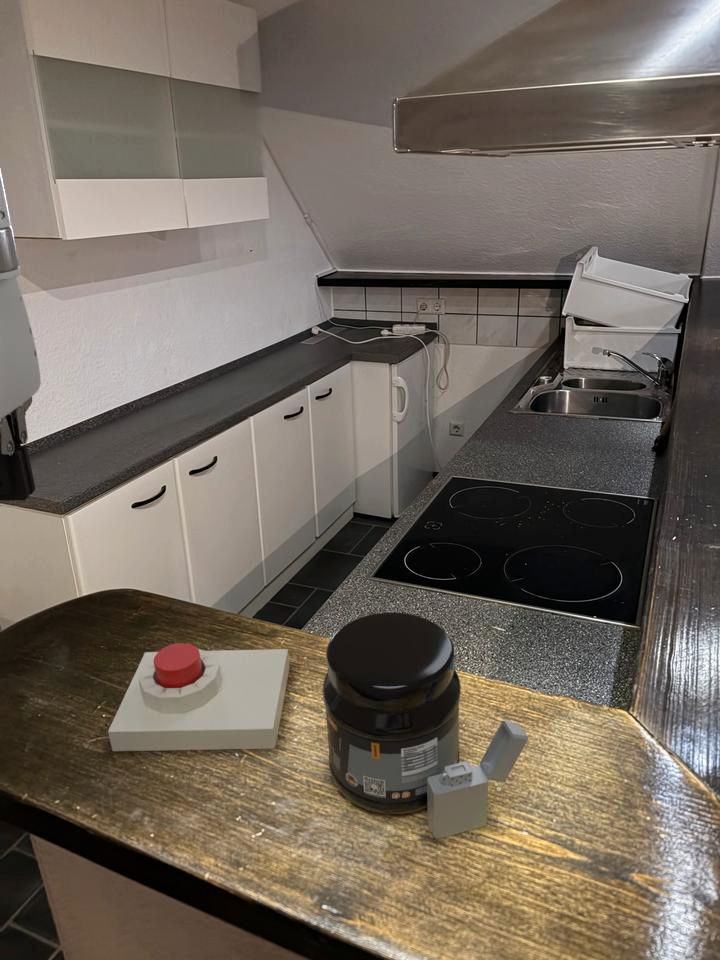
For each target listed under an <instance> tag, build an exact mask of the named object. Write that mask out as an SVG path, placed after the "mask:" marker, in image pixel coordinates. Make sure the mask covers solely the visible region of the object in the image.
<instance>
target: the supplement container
mask: <svg viewBox="0 0 720 960" xmlns="http://www.w3.org/2000/svg"><path fill="white" fill-rule="evenodd" d="M326 668H327V672H326V674H325V677H324V679H323V684H322V700H323V704H324V707H325V719H326V729H327V743H328V767H329V772H330V776H331V778H332V781H333V782H334V784H335V786H336V788H337V789H338V790H339V791H340V793H341V794H342V795H343V796H344V797H345V798H346V799H347V800H349V801H350V802H352V803H353V804H355V805H357V806H358V807H361V808H363V809H365V810H368V811H370V812H373V813H377V814H378V813H379V814H385V815H403V814H409V813H414V812H418V811H421V810H424V809H427V779H428V777H431V776H435V775H439V774H442V772H443V771H444V770H445V766H449V765H453V764H457V763H460V750H459V745H460V743H459V742H460V741H459V739H460V736H459V734H460V732H459V731H460V729H459V728H460V727H459V726H460V723H459V722H460V701H461V696H462V686H461V680H460V676H459V674H458V673H457V671H456V669H455V648H454V644H453V640H452V639H451V636H450V635H449V634H448V633H447V632H446V630H444V628H442V627H441V626H440V625H438V624H436V623H435V622H433V621H432V620H430V619H427V618H424V617H422V616H419V615H417V614H416V615H415V614H411V613H404V612H377V613H372V614H368V615H364V616H361V617H359V618H356V619H353V620H351V621H350V622H348V623H346V624H344V625H343V626H341V627H340V628H339V629H338V630H337V631H336V632H335V633H334V634H333V635H332V637H331V638H330V640H329V642H328V644H327V647H326Z"/></svg>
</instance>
